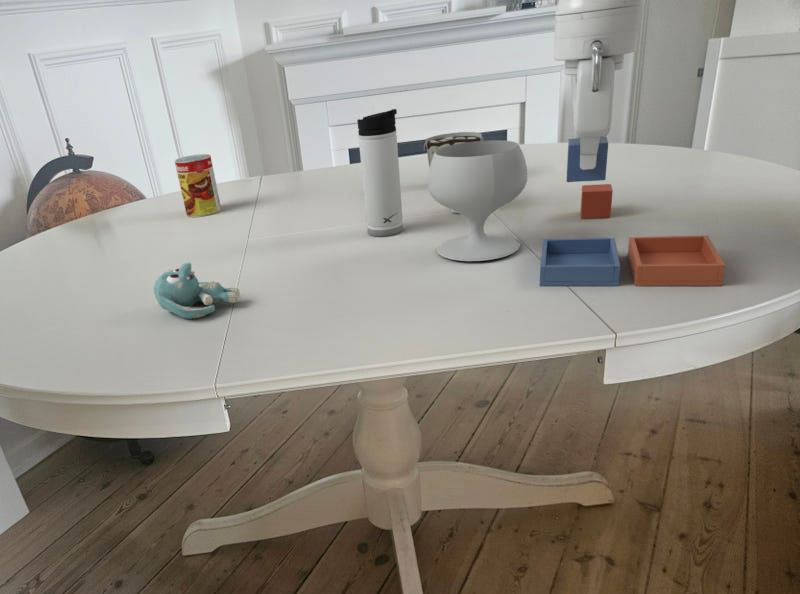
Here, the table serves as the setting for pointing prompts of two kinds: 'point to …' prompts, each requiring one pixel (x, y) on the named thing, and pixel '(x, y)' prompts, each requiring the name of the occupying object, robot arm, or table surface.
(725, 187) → the table surface
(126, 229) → the table surface
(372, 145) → the travel mug
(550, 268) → the slate tray
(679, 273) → the rust tray
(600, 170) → the slate block
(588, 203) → the rust block
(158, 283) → the stuffed animal
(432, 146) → the food container
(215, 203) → the canned food
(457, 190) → the chalice
